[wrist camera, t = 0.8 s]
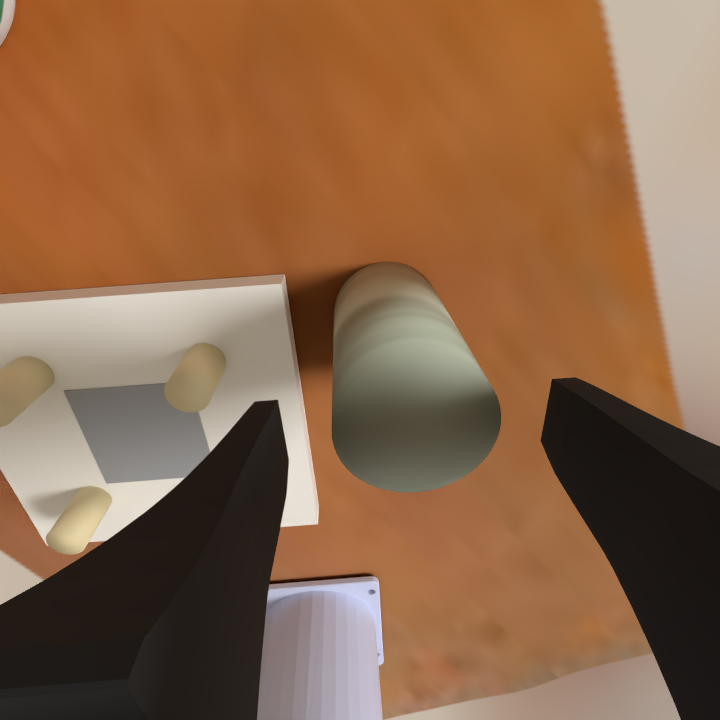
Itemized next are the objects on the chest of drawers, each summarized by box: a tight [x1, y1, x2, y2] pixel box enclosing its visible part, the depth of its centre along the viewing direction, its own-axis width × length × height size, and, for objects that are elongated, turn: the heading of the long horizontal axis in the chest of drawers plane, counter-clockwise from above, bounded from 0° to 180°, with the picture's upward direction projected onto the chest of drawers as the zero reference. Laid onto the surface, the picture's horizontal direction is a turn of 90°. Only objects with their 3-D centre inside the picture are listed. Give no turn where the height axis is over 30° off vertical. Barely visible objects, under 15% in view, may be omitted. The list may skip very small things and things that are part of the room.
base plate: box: [0, 274, 319, 554], centre depth 19 cm, size 13×14×4 cm
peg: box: [332, 262, 501, 492], centre depth 15 cm, size 4×4×8 cm
